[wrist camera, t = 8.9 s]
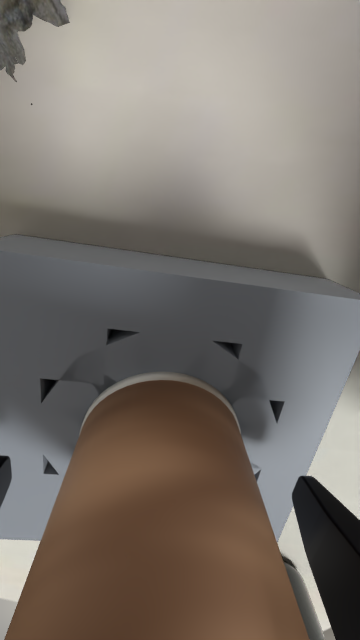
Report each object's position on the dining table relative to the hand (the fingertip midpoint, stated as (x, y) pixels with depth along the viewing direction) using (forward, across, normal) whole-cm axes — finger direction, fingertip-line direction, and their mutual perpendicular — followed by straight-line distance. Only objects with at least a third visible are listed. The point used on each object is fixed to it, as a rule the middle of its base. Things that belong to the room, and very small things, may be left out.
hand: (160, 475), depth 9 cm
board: (+4, 0, 0) cm, 4 cm away
